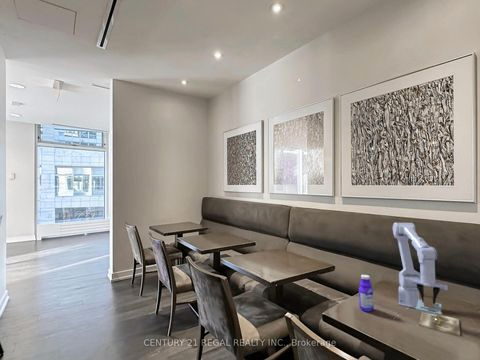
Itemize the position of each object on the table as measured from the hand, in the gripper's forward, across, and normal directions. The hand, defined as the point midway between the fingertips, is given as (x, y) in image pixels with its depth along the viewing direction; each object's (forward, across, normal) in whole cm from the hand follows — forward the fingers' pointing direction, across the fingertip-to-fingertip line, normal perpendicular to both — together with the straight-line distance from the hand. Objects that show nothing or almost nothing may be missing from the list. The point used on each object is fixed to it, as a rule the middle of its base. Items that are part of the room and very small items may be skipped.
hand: (428, 301), depth 126 cm
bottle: (+9, -26, -5) cm, 28 cm away
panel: (+3, 0, 0) cm, 3 cm away
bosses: (+8, +4, 0) cm, 9 cm away
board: (+9, +4, 0) cm, 10 cm away
